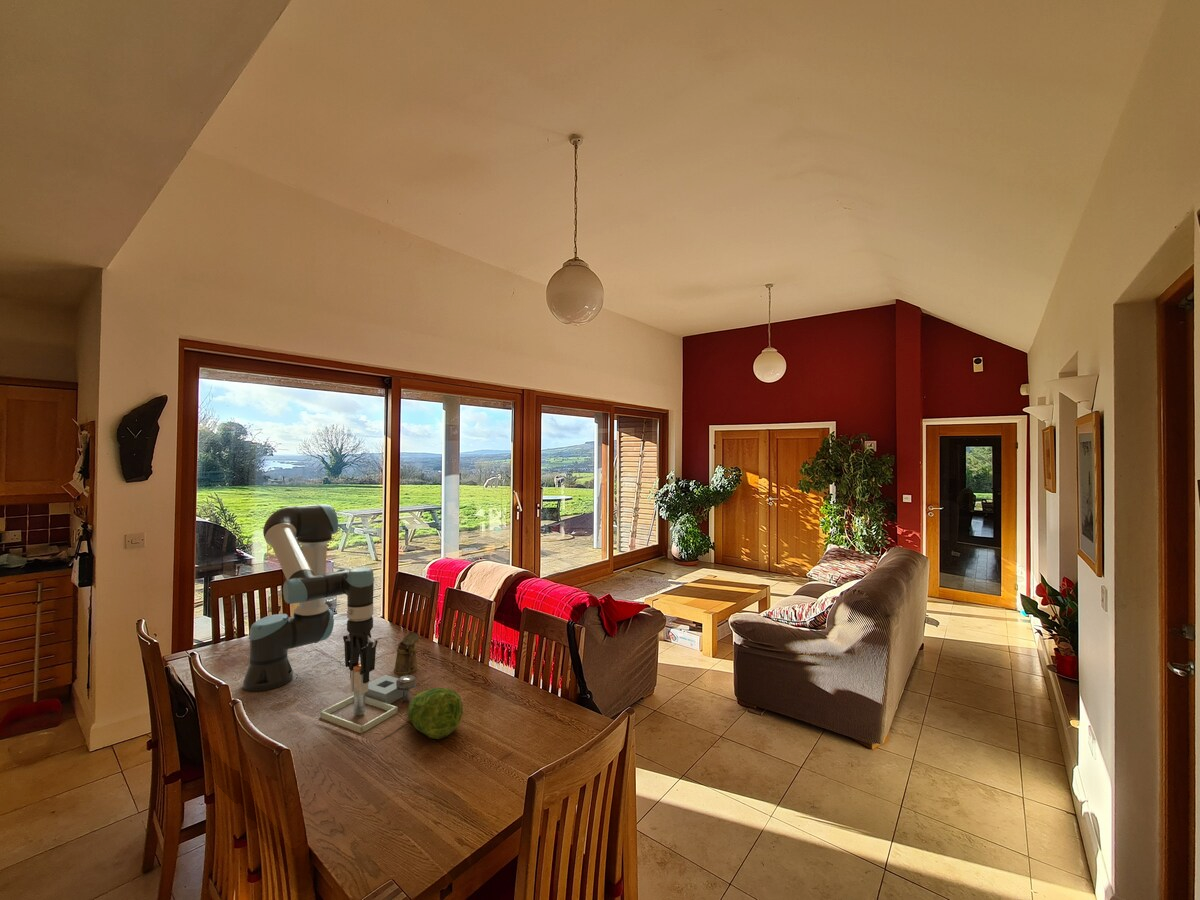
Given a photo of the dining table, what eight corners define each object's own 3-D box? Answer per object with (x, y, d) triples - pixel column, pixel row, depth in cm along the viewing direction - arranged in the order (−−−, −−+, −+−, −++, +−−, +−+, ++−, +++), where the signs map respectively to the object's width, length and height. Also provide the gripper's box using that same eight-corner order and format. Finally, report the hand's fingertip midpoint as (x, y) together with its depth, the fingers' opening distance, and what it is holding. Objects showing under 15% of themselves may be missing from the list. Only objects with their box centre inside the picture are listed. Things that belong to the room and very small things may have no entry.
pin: (350, 713, 156) (350, 666, 156) (360, 708, 159) (361, 661, 160) (358, 716, 154) (358, 668, 154) (368, 711, 158) (369, 664, 158)
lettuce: (434, 720, 164) (436, 677, 167) (468, 734, 147) (470, 686, 151) (391, 730, 154) (394, 684, 158) (423, 746, 138) (425, 695, 141)
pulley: (391, 705, 165) (392, 680, 165) (406, 697, 171) (407, 672, 171) (405, 709, 162) (405, 684, 162) (420, 701, 168) (420, 676, 168)
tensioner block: (360, 701, 168) (360, 686, 168) (385, 688, 177) (385, 674, 177) (385, 709, 162) (385, 694, 162) (409, 696, 171) (409, 681, 171)
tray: (320, 720, 155) (320, 711, 155) (357, 701, 167) (357, 693, 167) (361, 736, 147) (361, 727, 147) (397, 715, 159) (397, 706, 159)
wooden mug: (399, 684, 180) (400, 634, 180) (390, 670, 191) (391, 624, 191) (424, 677, 185) (425, 630, 185) (414, 665, 196) (415, 619, 196)
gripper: (332, 617, 157) (331, 690, 157) (367, 625, 150) (367, 702, 150) (353, 610, 164) (352, 680, 164) (388, 618, 157) (387, 691, 157)
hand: (359, 690), depth 157 cm, fingers closed on pin, 3 cm apart
